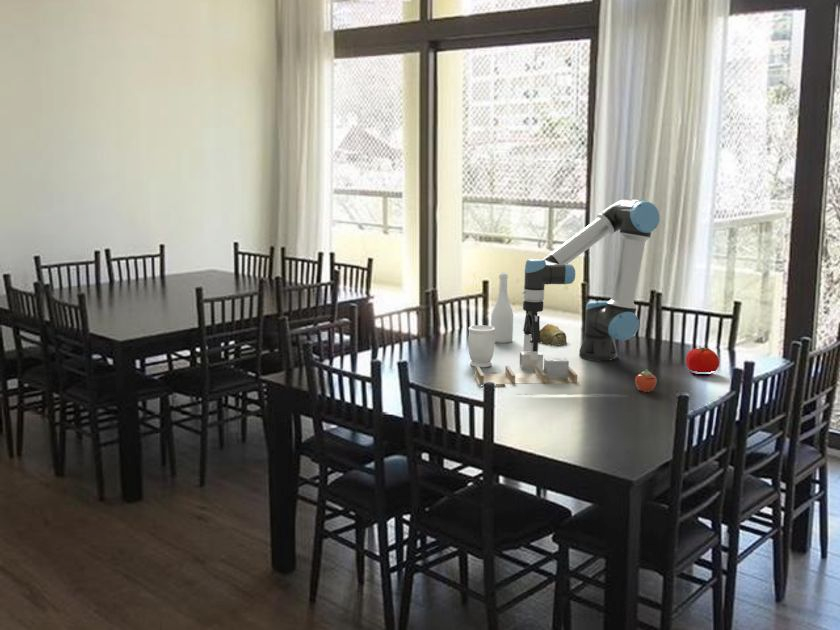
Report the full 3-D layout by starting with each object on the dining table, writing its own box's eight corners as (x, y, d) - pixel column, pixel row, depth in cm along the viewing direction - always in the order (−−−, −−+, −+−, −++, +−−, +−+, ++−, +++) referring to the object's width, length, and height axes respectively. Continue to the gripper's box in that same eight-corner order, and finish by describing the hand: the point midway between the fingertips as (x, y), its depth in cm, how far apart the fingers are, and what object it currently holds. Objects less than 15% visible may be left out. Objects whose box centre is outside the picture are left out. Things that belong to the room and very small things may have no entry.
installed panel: (565, 376, 321) (565, 358, 320) (567, 379, 317) (568, 361, 316) (543, 376, 321) (544, 358, 320) (546, 380, 316) (546, 361, 315)
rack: (569, 375, 326) (569, 365, 326) (579, 386, 312) (580, 376, 311) (473, 376, 324) (473, 366, 323) (479, 387, 309) (479, 376, 308)
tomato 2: (692, 368, 340) (694, 342, 338) (723, 374, 331) (725, 348, 329) (677, 373, 332) (679, 346, 330) (709, 379, 324) (711, 352, 322)
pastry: (537, 338, 391) (538, 321, 389) (565, 339, 389) (566, 322, 388) (537, 345, 377) (538, 327, 375) (567, 346, 375) (567, 328, 374)
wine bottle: (513, 343, 379) (515, 275, 374) (491, 343, 379) (493, 274, 374) (511, 338, 389) (513, 272, 383) (490, 338, 389) (491, 271, 383)
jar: (492, 369, 335) (493, 331, 332) (465, 367, 337) (466, 329, 334) (495, 362, 345) (496, 325, 342) (469, 361, 347) (470, 324, 344)
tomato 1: (643, 394, 303) (644, 372, 301) (629, 389, 309) (631, 367, 308) (660, 392, 305) (662, 370, 304) (647, 387, 312) (648, 365, 311)
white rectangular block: (540, 369, 336) (540, 351, 335) (542, 372, 331) (543, 354, 330) (519, 369, 335) (520, 351, 334) (521, 372, 331) (522, 354, 330)
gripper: (517, 294, 340) (514, 347, 344) (529, 305, 316) (526, 362, 320) (536, 295, 341) (533, 348, 345) (550, 306, 316) (547, 363, 320)
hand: (530, 355), depth 332 cm, fingers open, 13 cm apart
